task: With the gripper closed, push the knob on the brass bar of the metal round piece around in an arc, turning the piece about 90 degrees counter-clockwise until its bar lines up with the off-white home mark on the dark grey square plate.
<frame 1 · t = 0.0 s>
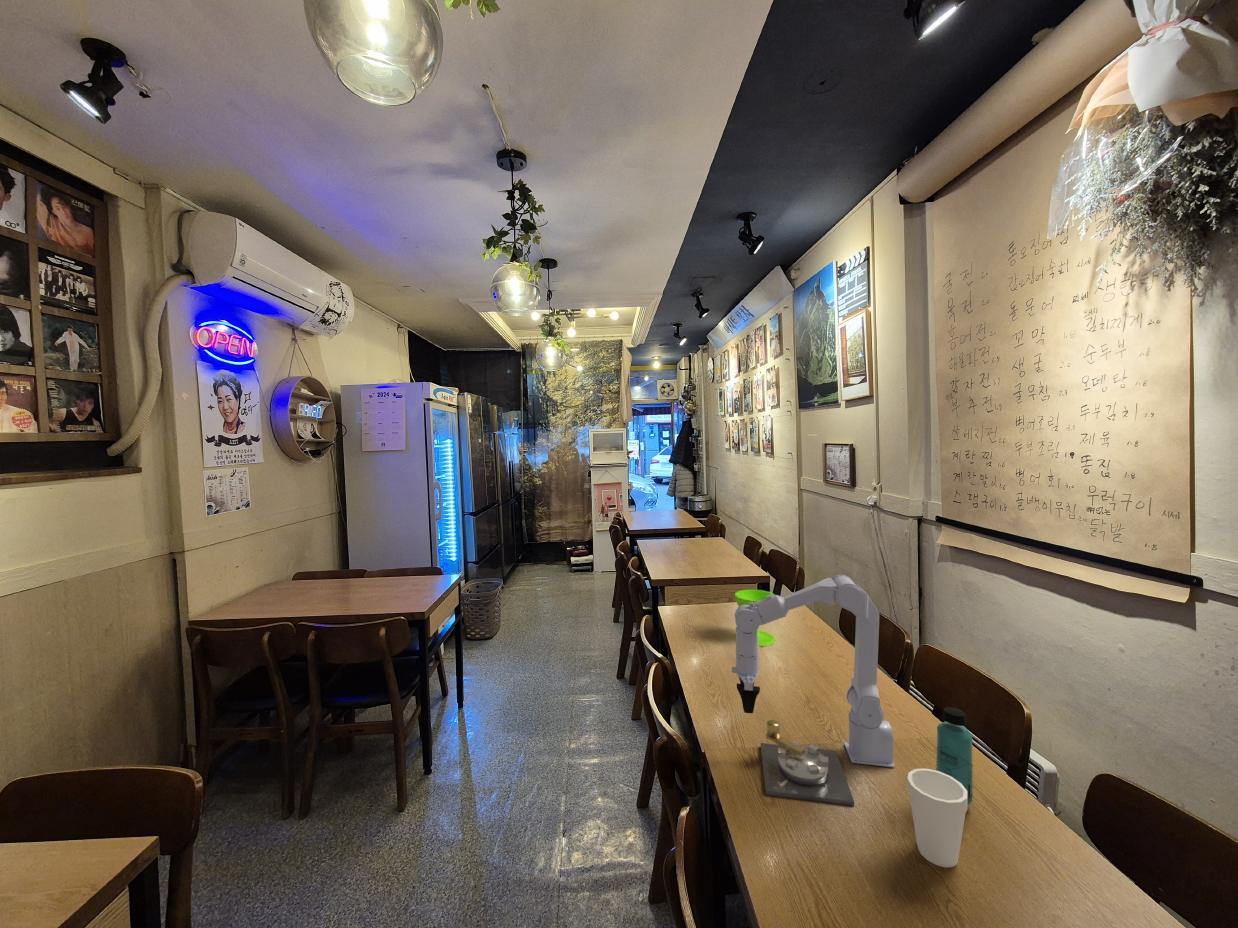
hand: (747, 704, 126), 10 cm above the table, fingers open, 7 cm apart
wineglass: (755, 639, 196), on the table
dark grey square plate: (803, 773, 114), on the table
foam cup: (937, 854, 91), on the table
metal round piece: (795, 749, 115), point 5 cm above the table, hinge at 0.0°
beverage bottle: (954, 803, 103), on the table
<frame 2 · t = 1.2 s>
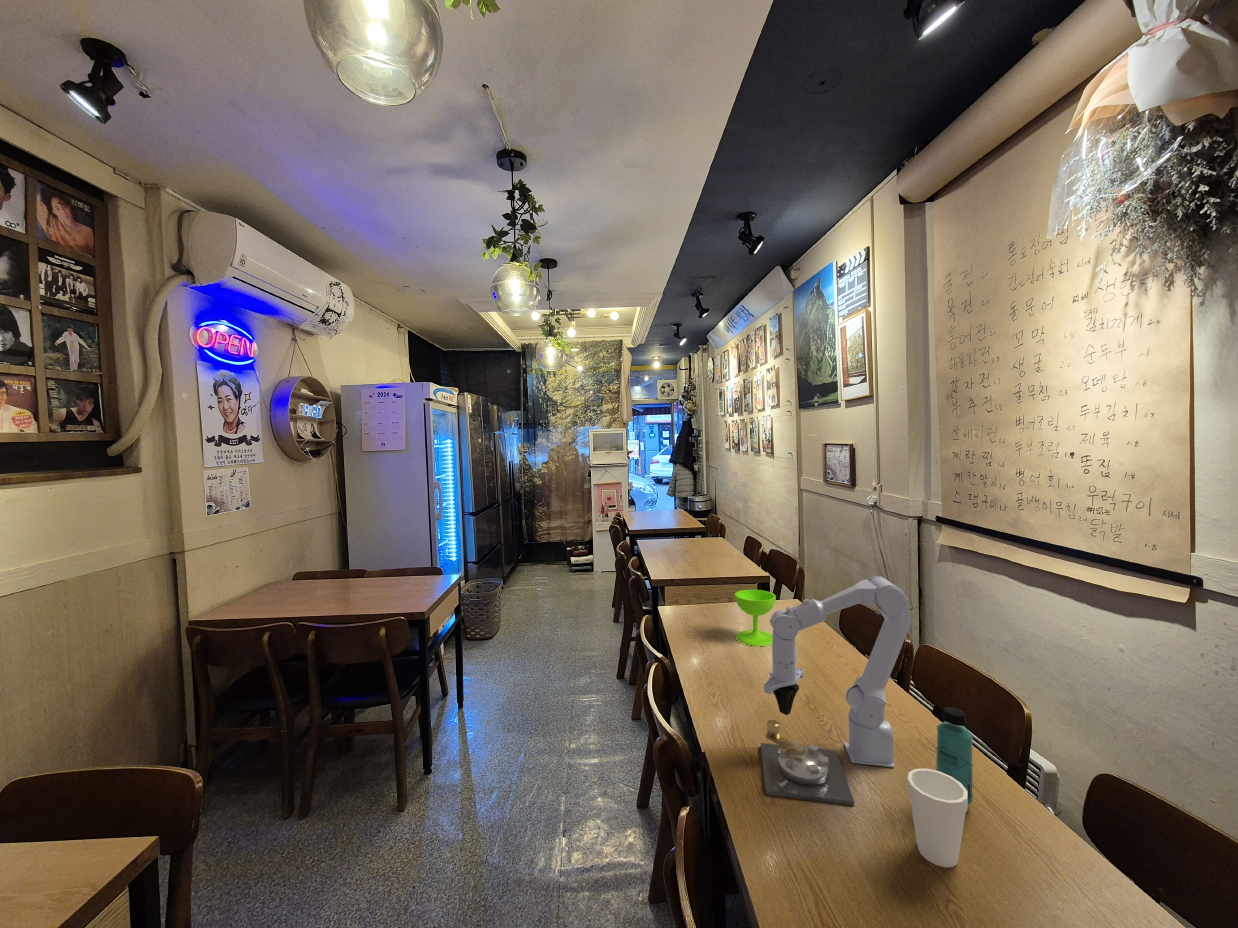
hand: (784, 712, 123), 9 cm above the table, fingers closed
nothing on the table moved.
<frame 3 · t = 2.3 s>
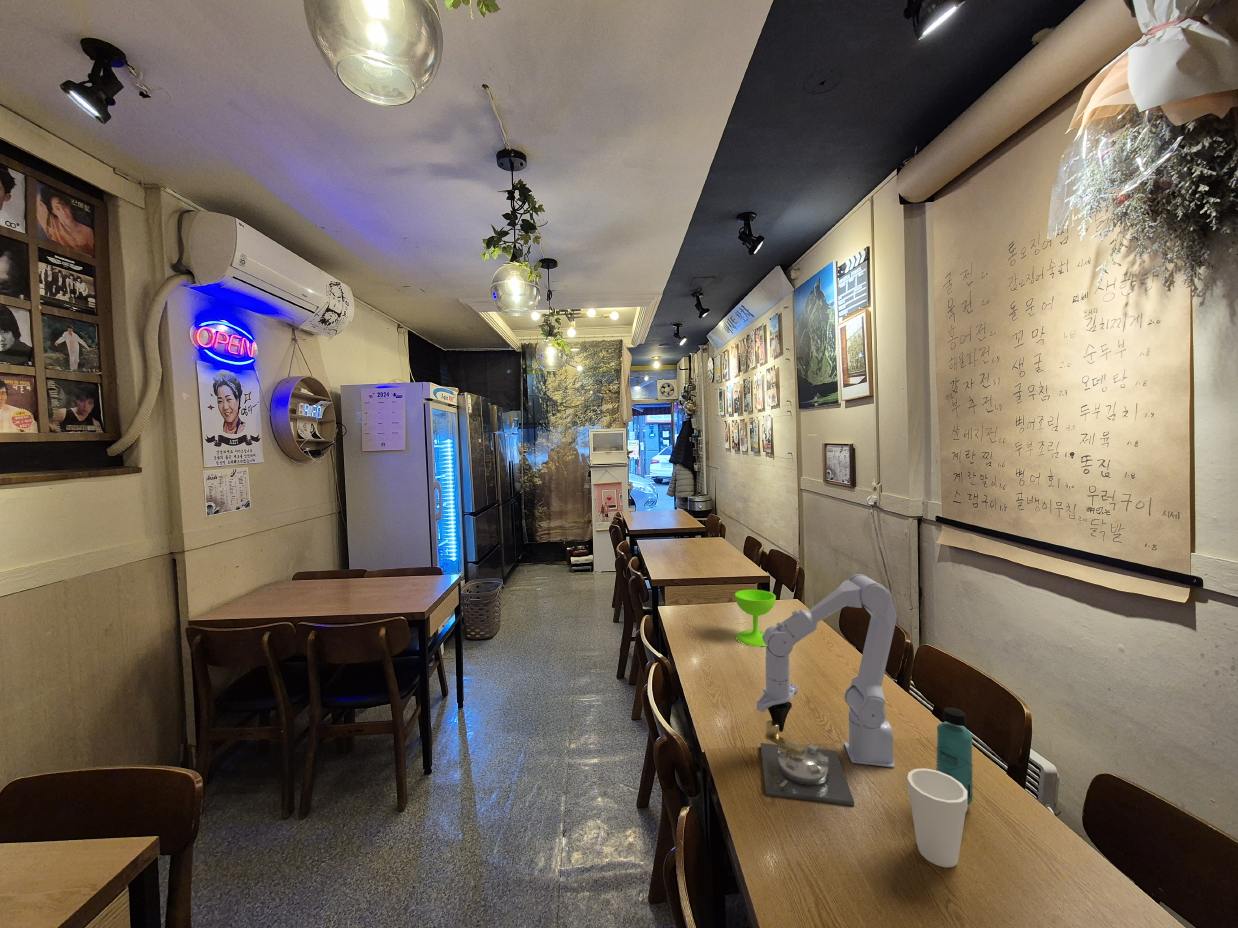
hand: (778, 729, 121), 6 cm above the table, fingers closed
metal round piece: (794, 749, 115), point 5 cm above the table, hinge at 1.8°, touching gripper
everything else where it was.
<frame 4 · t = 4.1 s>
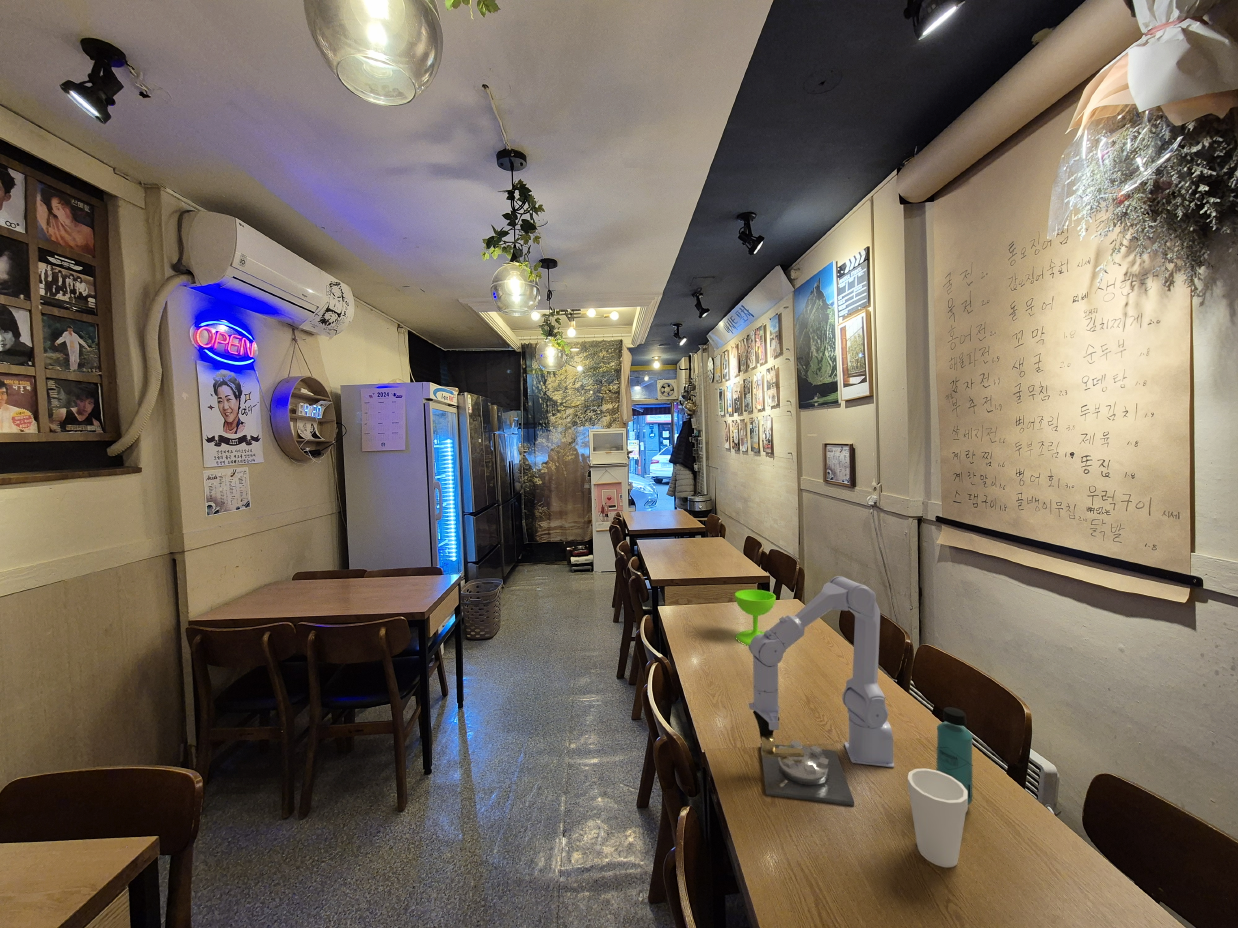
hand: (766, 742, 116), 6 cm above the table, fingers closed
metal round piece: (794, 753, 114), point 5 cm above the table, hinge at 51.1°, touching gripper
everything else where it was.
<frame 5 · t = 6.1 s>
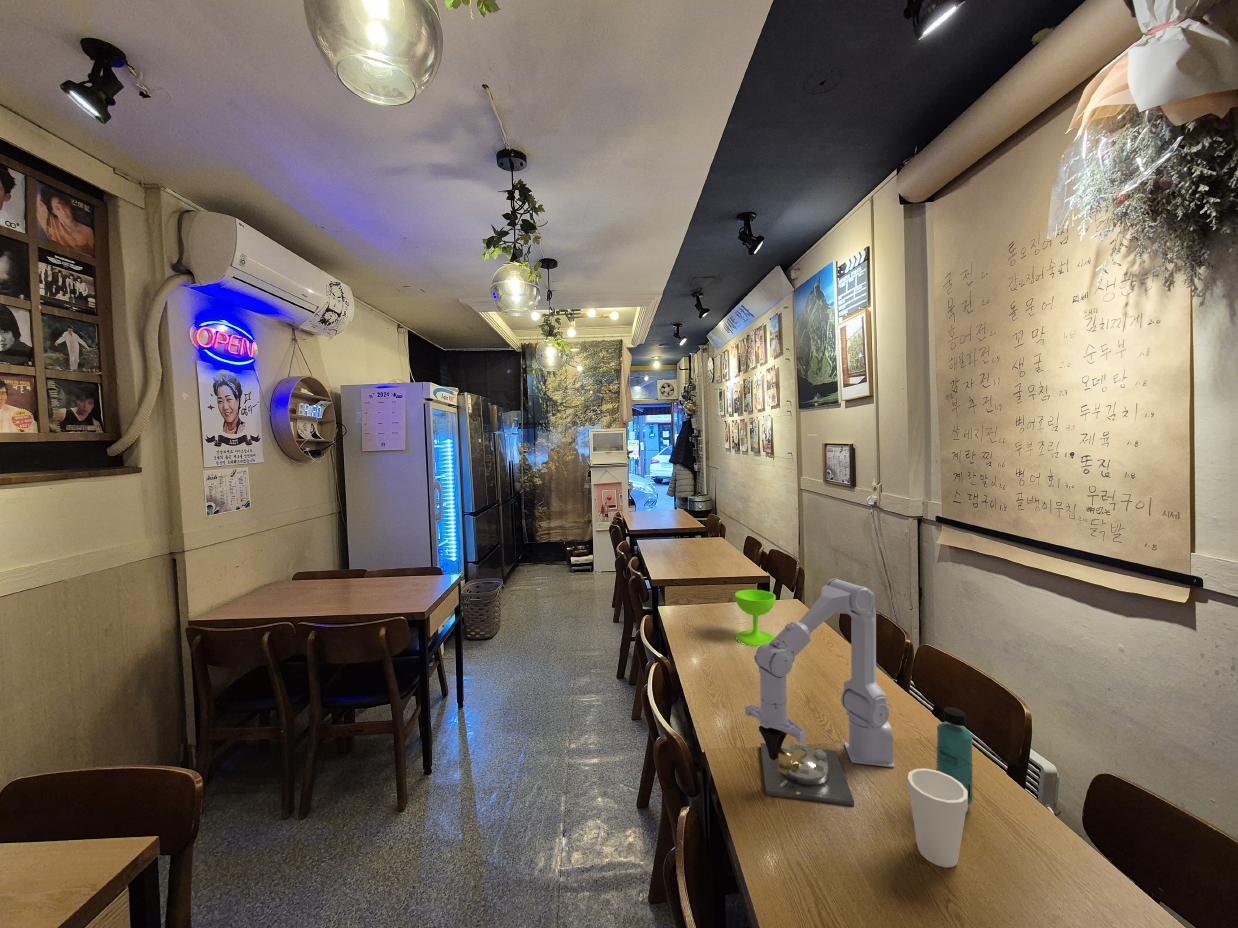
hand: (774, 757, 110), 6 cm above the table, fingers closed
metal round piece: (798, 756, 112), point 5 cm above the table, hinge at 94.2°, touching gripper
everything else where it was.
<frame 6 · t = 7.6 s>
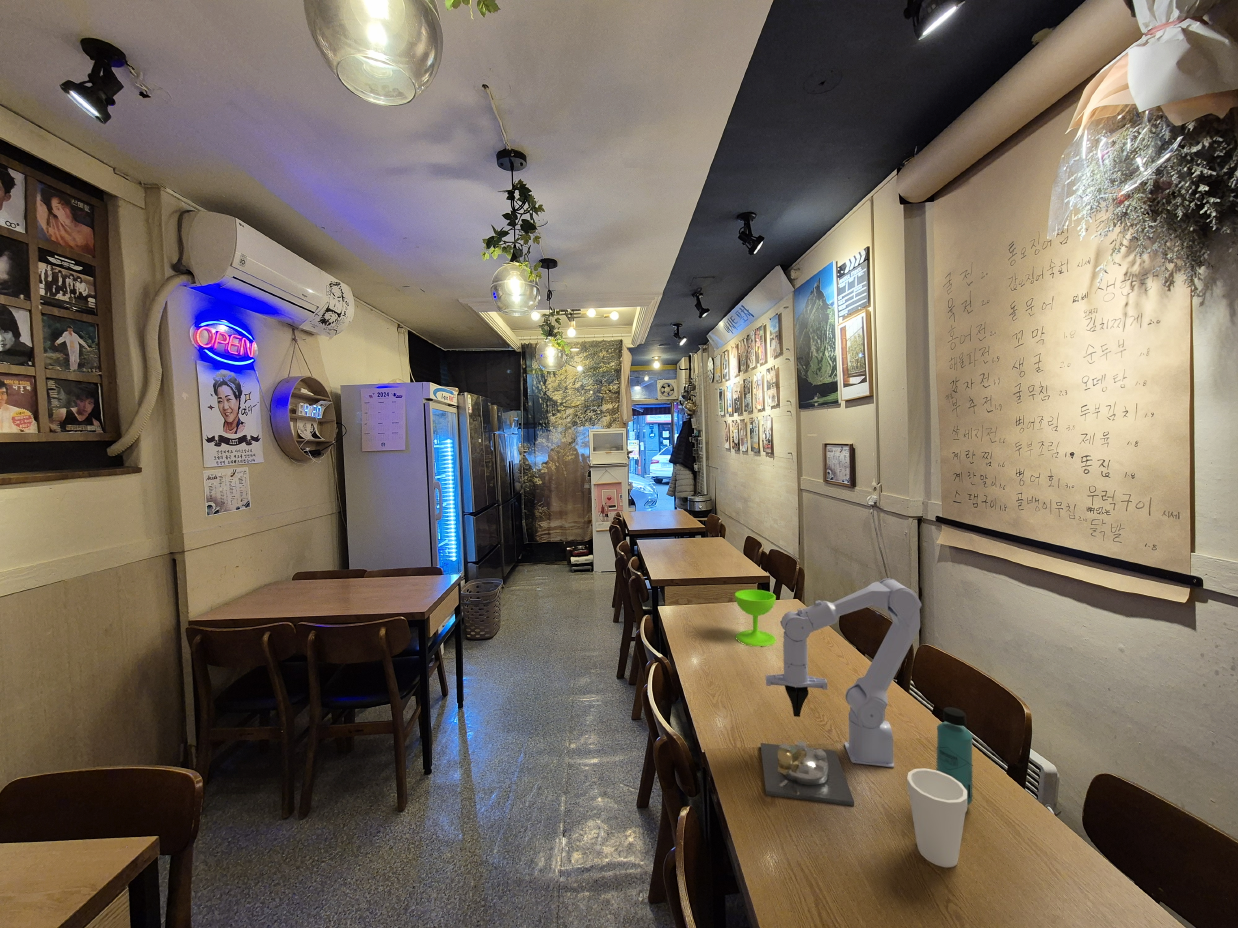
hand: (796, 714, 122), 9 cm above the table, fingers closed
metal round piece: (798, 756, 112), point 5 cm above the table, hinge at 94.2°
everything else where it was.
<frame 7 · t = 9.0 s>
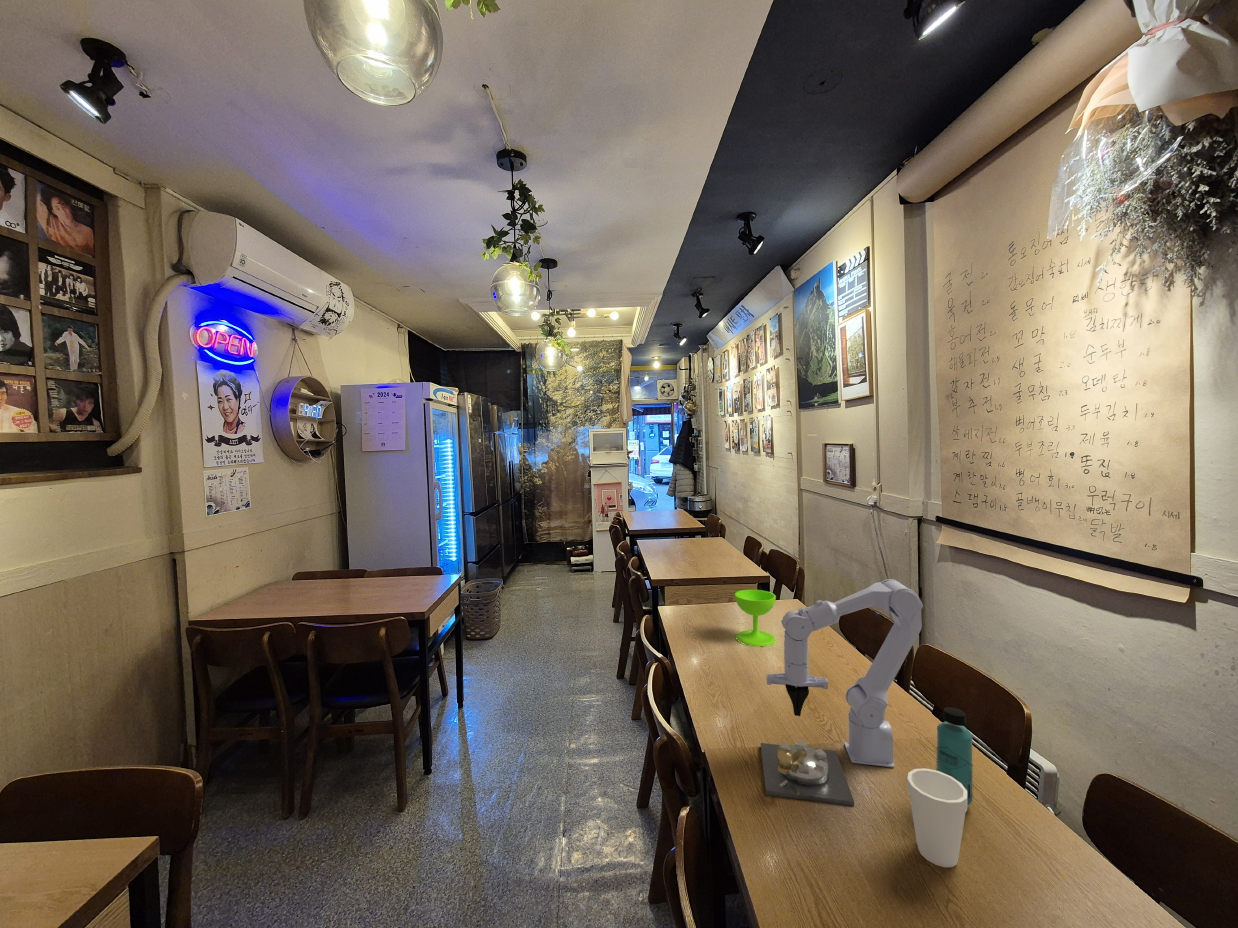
hand: (797, 713, 122), 9 cm above the table, fingers closed
nothing on the table moved.
at the end: metal round piece at +94° (first picture: +0°); beverage bottle moved 0.2 cm from its start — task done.
